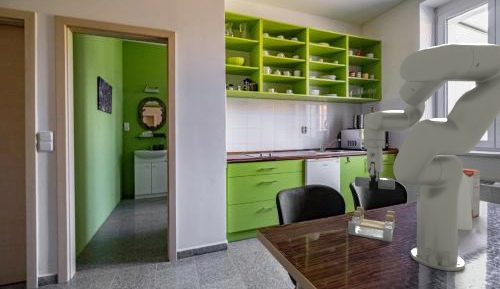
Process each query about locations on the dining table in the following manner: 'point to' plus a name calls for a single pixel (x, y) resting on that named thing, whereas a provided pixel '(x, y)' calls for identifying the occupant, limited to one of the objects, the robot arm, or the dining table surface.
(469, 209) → the milk
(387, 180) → the steel axle
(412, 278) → the dining table surface
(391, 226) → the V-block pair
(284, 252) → the dining table surface
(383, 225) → the bearing cradle
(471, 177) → the cracker box
